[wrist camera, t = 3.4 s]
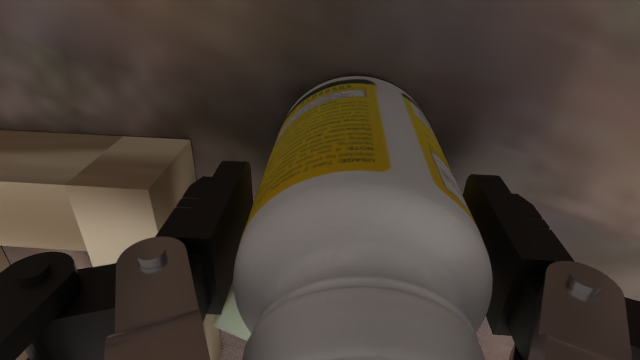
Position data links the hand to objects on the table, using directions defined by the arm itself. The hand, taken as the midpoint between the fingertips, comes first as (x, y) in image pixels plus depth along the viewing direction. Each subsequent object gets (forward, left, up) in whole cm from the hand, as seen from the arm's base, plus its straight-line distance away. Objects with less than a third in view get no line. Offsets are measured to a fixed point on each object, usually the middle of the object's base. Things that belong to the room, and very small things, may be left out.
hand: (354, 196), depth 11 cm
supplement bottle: (0, 0, -3) cm, 3 cm away
